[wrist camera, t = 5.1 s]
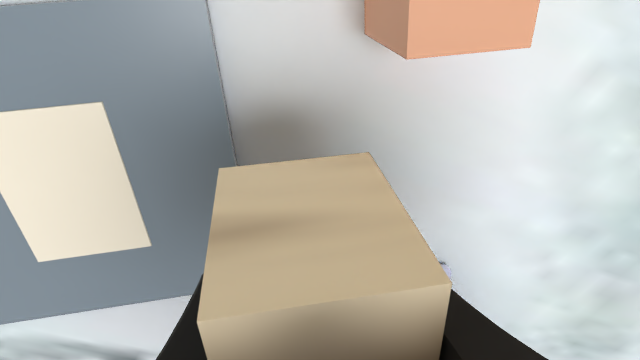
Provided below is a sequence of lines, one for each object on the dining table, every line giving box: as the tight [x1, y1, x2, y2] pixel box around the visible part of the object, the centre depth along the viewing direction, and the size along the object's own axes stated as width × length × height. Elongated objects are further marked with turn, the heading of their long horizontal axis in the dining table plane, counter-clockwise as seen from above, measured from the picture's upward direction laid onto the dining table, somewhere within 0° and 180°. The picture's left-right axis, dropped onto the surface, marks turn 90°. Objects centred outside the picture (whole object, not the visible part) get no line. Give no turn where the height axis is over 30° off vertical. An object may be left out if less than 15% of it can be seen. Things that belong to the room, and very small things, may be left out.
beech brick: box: [197, 152, 452, 360], centre depth 10 cm, size 6×4×5 cm, turn 2°
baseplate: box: [0, 0, 237, 325], centre depth 17 cm, size 14×14×1 cm
